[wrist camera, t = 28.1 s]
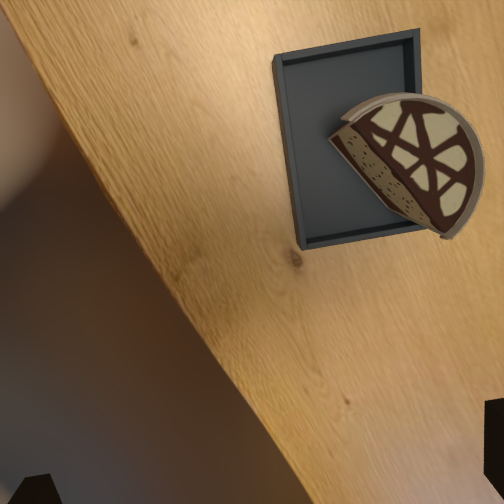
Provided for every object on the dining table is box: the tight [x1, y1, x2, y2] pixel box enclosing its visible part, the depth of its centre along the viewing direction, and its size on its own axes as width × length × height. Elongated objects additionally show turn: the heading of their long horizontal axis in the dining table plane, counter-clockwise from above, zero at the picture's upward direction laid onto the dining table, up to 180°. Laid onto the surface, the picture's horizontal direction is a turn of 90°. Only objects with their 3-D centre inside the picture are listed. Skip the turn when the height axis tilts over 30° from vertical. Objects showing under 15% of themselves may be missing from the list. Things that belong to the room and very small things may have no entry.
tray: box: [272, 28, 427, 251], centre depth 33 cm, size 12×17×3 cm
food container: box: [327, 92, 485, 240], centre depth 29 cm, size 12×6×10 cm, turn 44°
